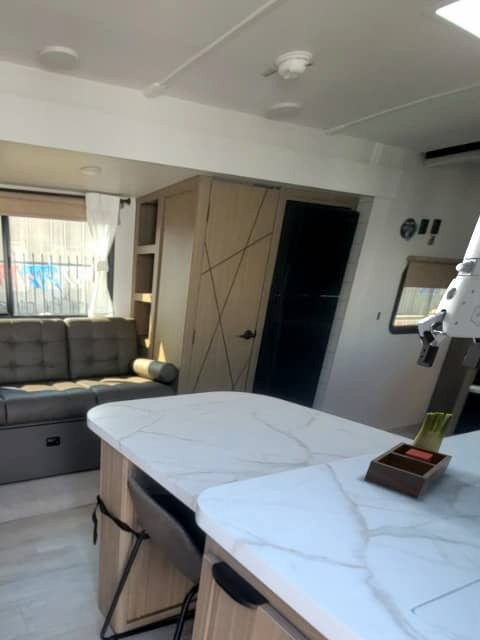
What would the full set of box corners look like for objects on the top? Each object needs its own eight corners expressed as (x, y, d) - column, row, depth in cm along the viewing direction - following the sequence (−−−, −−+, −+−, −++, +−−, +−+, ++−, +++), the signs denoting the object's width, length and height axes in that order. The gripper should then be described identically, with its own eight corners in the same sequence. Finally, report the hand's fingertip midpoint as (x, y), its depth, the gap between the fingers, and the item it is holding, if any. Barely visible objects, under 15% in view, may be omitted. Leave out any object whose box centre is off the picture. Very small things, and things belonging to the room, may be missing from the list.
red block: (405, 464, 93) (411, 448, 91) (425, 471, 90) (433, 454, 88) (398, 469, 90) (405, 452, 89) (420, 475, 87) (427, 459, 86)
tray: (394, 459, 96) (401, 441, 94) (444, 474, 90) (452, 456, 88) (363, 480, 86) (370, 460, 84) (416, 499, 79) (425, 478, 77)
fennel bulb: (432, 459, 97) (453, 412, 92) (437, 467, 93) (459, 418, 88) (403, 454, 99) (422, 407, 94) (406, 461, 95) (426, 413, 90)
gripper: (457, 269, 69) (419, 369, 76) (552, 272, 70) (506, 371, 77) (423, 269, 76) (391, 361, 83) (511, 272, 77) (471, 363, 84)
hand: (447, 366), depth 80 cm, fingers open, 9 cm apart
